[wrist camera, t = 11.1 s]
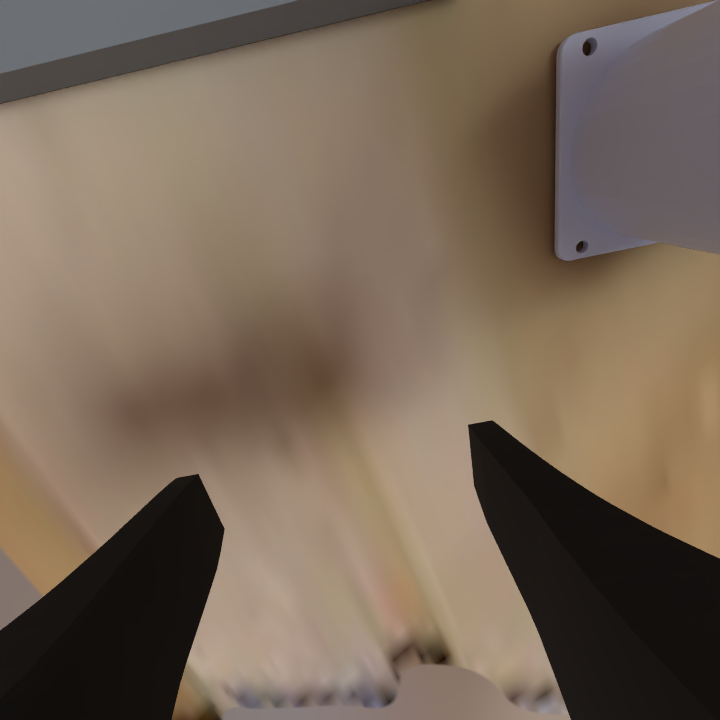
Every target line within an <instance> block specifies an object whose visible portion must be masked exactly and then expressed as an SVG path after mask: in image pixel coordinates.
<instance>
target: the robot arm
mask: <svg viewBox="0 0 720 720" xmlns="http://www.w3.org/2000/svg"><path fill="white" fill-rule="evenodd" d="M585 41H588V42H589V43H590V45H591V51H590V54H589V55H588V56H585V54H584V53H583V50H582V47H583V43H584V42H585ZM580 241H583V247H582V249H581V250H580V251H576V246H577V244H578V243H579V242H580ZM655 243H664V244H669V245H674V246H679V247H684V248H689V249H694V250H699V251H704V252H709V253H714V254H719V255H720V0H716V1H711V2H707V3H703V4H699V5H694V6H690V7H686V8H681V9H677V10H673V11H668V12H664V13H660V14H656V15H651V16H647V17H643V18H638V19H634V20H630V21H625V22H621V23H617V24H612V25H608V26H604V27H600V28H595V29H591V30H587V31H582V32H578V33H575V34H572V35H570V36H569V37H567V38H565V39H564V40H563V42H562V43H561V44H560V46H559V48H558V50H557V57H556V159H555V255H556V256H557V257H558V258H559V259H562V260H564V261H571V260H576V259H581V258H585V257H590V256H595V255H600V254H605V253H610V252H615V251H620V250H625V249H630V248H635V247H640V246H645V245H650V244H655ZM468 428H469V438H470V448H471V458H472V468H473V478H474V486H475V489H476V492H477V495H478V498H479V501H480V504H481V507H482V510H483V513H484V516H485V518H486V521H487V524H488V526H489V528H490V530H491V532H492V534H493V536H494V538H495V541H496V543H497V545H498V547H499V549H500V551H501V553H502V555H503V557H504V559H505V562H506V564H507V566H508V568H509V570H510V572H511V574H512V576H513V578H514V580H515V582H516V585H517V587H518V589H519V591H520V593H521V595H522V597H523V599H524V601H525V603H526V605H527V607H528V610H529V612H530V614H531V616H532V619H533V621H534V623H535V626H536V628H537V630H538V633H539V635H540V638H541V640H542V643H543V646H544V648H545V651H546V654H547V656H548V659H549V662H550V664H551V667H552V669H553V672H554V675H555V677H556V680H557V683H558V685H559V688H560V691H561V694H562V696H563V699H564V702H565V704H566V707H567V710H568V713H569V715H570V718H571V720H720V558H717V557H715V556H713V555H711V554H708V553H706V552H704V551H702V550H700V549H698V548H696V547H694V546H691V545H689V544H687V543H685V542H683V541H681V540H679V539H677V538H675V537H672V536H670V535H668V534H666V533H664V532H662V531H660V530H658V529H656V528H654V527H652V526H651V525H649V524H647V523H645V522H643V521H641V520H639V519H638V518H636V517H634V516H632V515H630V514H628V513H627V512H625V511H623V510H621V509H619V508H617V507H616V506H614V505H612V504H610V503H609V502H607V501H605V500H604V499H602V498H600V497H598V496H597V495H595V494H594V493H592V492H590V491H589V490H587V489H586V488H584V487H583V486H581V485H579V484H578V483H576V482H575V481H573V480H572V479H570V478H569V477H567V476H566V475H564V474H563V473H561V472H560V471H559V470H557V469H556V468H554V467H553V466H552V465H550V464H549V463H547V462H546V461H545V460H543V459H542V458H540V457H539V456H538V455H536V454H535V453H534V452H532V451H531V450H530V449H528V448H527V447H526V446H524V445H523V444H522V443H521V442H519V441H518V440H517V439H515V438H514V437H513V436H512V435H510V434H509V433H508V432H507V431H505V430H504V429H503V428H502V427H500V426H499V425H498V424H496V423H495V422H494V421H486V422H481V423H475V424H470V425H468ZM223 535H224V527H223V525H222V523H221V521H220V519H219V516H218V514H217V512H216V510H215V508H214V506H213V504H212V502H211V500H210V498H209V495H208V493H207V491H206V489H205V487H204V485H203V483H202V481H201V479H200V476H199V474H196V475H191V476H185V477H180V478H176V479H175V480H174V481H172V482H171V483H170V484H169V485H167V486H166V487H165V488H164V489H163V490H162V491H161V492H160V493H158V494H157V495H156V496H155V497H154V498H153V499H152V500H151V501H150V502H149V503H148V504H147V505H145V506H144V507H143V508H142V509H141V510H140V511H139V512H138V513H137V514H136V515H135V516H134V517H133V518H132V519H131V520H129V521H128V522H127V523H126V524H125V525H124V526H123V527H122V528H121V529H120V530H119V531H118V532H117V533H116V534H115V535H113V536H112V537H111V538H110V539H109V540H108V541H107V542H106V543H105V544H104V545H103V546H101V547H100V548H99V549H98V550H97V551H96V552H95V553H94V554H92V555H91V556H90V557H89V558H88V559H87V560H86V561H84V562H83V563H82V564H81V565H80V566H79V567H78V568H77V569H75V570H74V571H73V572H72V573H71V574H70V575H69V576H67V577H66V578H65V579H64V580H63V581H62V582H61V583H59V584H58V585H57V586H56V587H55V588H53V589H52V590H51V591H50V592H49V593H47V594H46V595H45V596H44V597H42V598H41V599H40V600H39V601H38V602H36V603H35V604H34V605H33V606H31V607H30V608H29V609H27V610H26V611H25V612H24V613H22V614H21V615H20V616H18V617H17V618H16V619H15V620H13V621H12V622H11V623H9V624H8V625H7V626H6V627H4V628H3V629H2V630H0V720H171V719H172V715H173V711H174V707H175V702H176V698H177V694H178V690H179V686H180V682H181V679H182V675H183V672H184V669H185V665H186V662H187V659H188V656H189V653H190V650H191V647H192V644H193V641H194V638H195V635H196V632H197V629H198V626H199V623H200V620H201V617H202V614H203V611H204V608H205V605H206V602H207V598H208V595H209V592H210V589H211V586H212V583H213V580H214V577H215V573H216V570H217V566H218V562H219V557H220V552H221V547H222V541H223Z"/></svg>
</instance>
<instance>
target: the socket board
mask: <svg viewBox="0 0 720 720" xmlns="http://www.w3.org/2000/svg"><path fill="white" fill-rule="evenodd" d="M423 1H427V0H0V103H5V102H9V101H13V100H17V99H21V98H25V97H29V96H33V95H38V94H42V93H46V92H50V91H54V90H58V89H62V88H67V87H71V86H75V85H79V84H83V83H87V82H91V81H96V80H100V79H104V78H108V77H112V76H116V75H120V74H125V73H129V72H133V71H137V70H141V69H145V68H149V67H154V66H158V65H162V64H166V63H170V62H174V61H178V60H183V59H187V58H191V57H195V56H199V55H203V54H207V53H212V52H216V51H220V50H224V49H228V48H232V47H236V46H240V45H245V44H249V43H253V42H257V41H261V40H265V39H269V38H274V37H278V36H282V35H286V34H290V33H294V32H298V31H303V30H307V29H311V28H315V27H319V26H323V25H327V24H332V23H336V22H340V21H344V20H348V19H352V18H356V17H361V16H365V15H369V14H373V13H377V12H381V11H385V10H390V9H394V8H398V7H402V6H406V5H410V4H414V3H419V2H423Z"/></svg>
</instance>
